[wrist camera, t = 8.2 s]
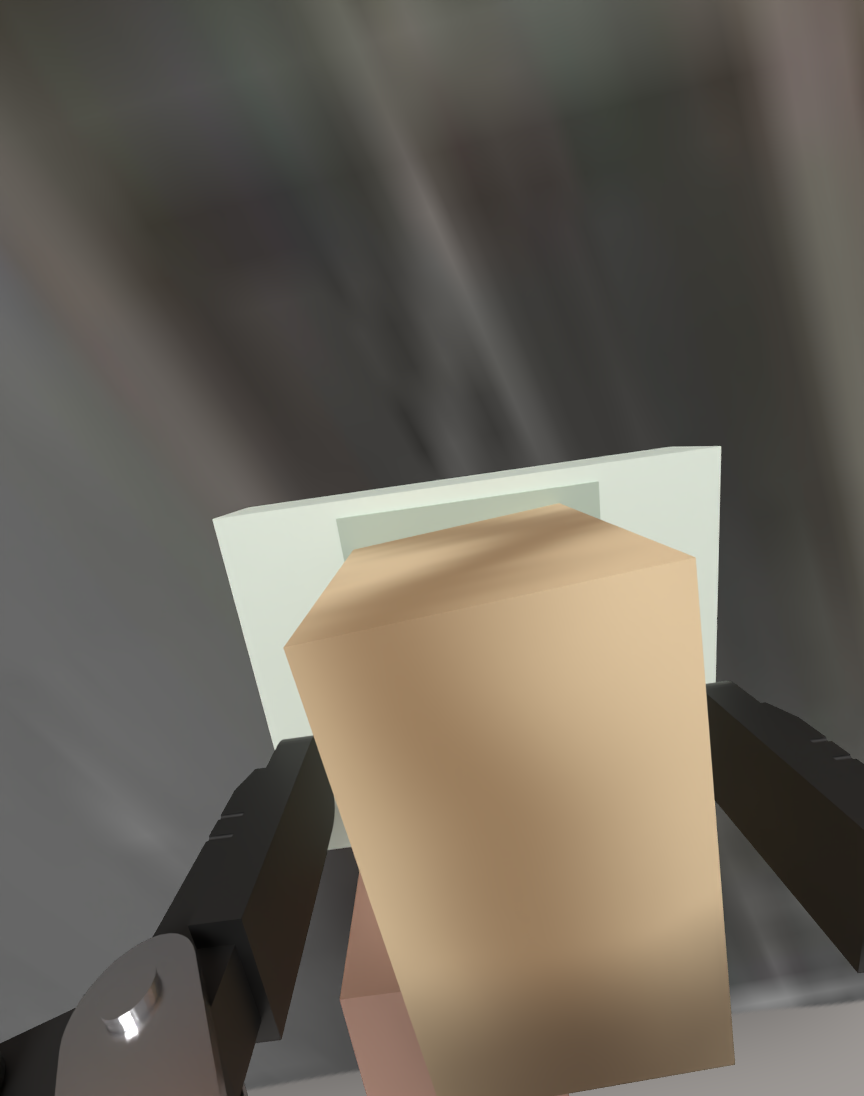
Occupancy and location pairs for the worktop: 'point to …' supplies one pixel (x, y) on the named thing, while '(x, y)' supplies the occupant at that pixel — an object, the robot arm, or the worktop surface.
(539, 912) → the tan rectangular block
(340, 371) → the worktop surface
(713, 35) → the worktop surface
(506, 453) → the worktop surface
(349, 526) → the pad
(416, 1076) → the cube
